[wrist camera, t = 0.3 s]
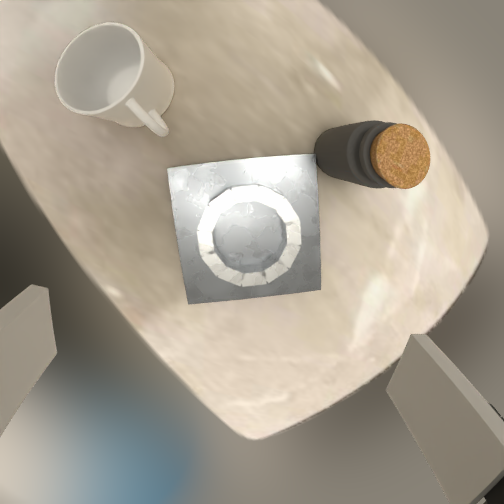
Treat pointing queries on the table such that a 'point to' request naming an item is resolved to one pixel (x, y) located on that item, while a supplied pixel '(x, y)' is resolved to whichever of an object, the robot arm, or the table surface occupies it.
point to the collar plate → (247, 227)
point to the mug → (114, 78)
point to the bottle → (374, 154)
